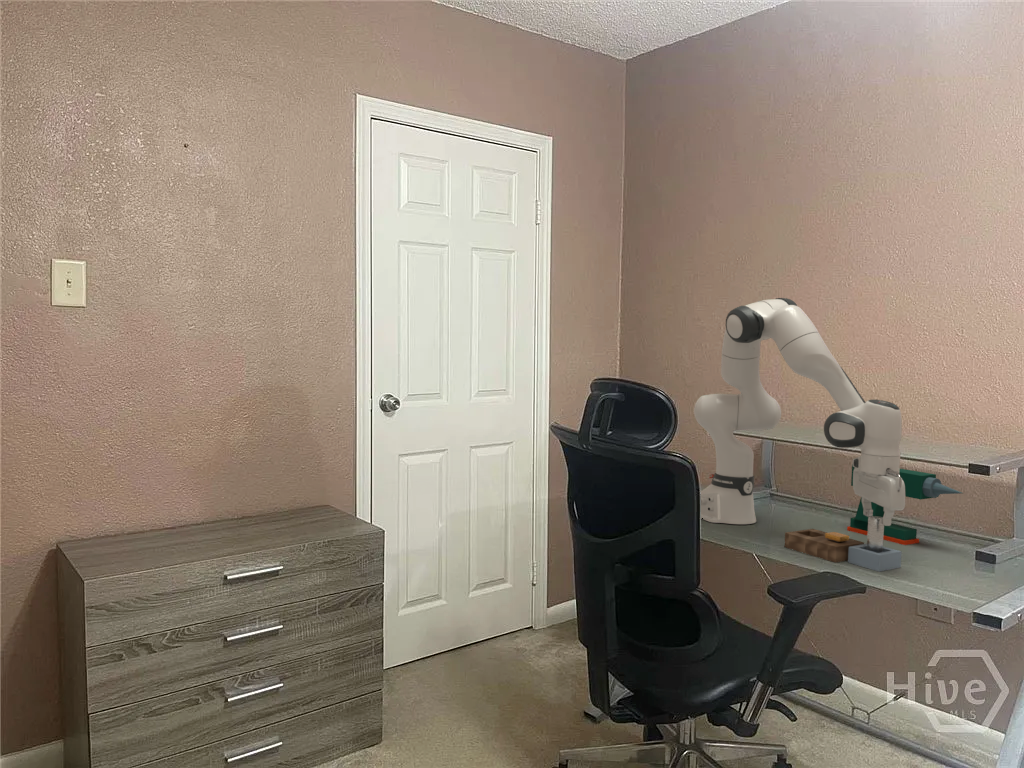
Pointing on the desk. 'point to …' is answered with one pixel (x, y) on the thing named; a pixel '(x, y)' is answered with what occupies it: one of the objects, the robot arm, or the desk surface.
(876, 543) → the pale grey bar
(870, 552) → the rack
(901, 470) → the power tool
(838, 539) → the tan block
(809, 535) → the block
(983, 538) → the desk surface
